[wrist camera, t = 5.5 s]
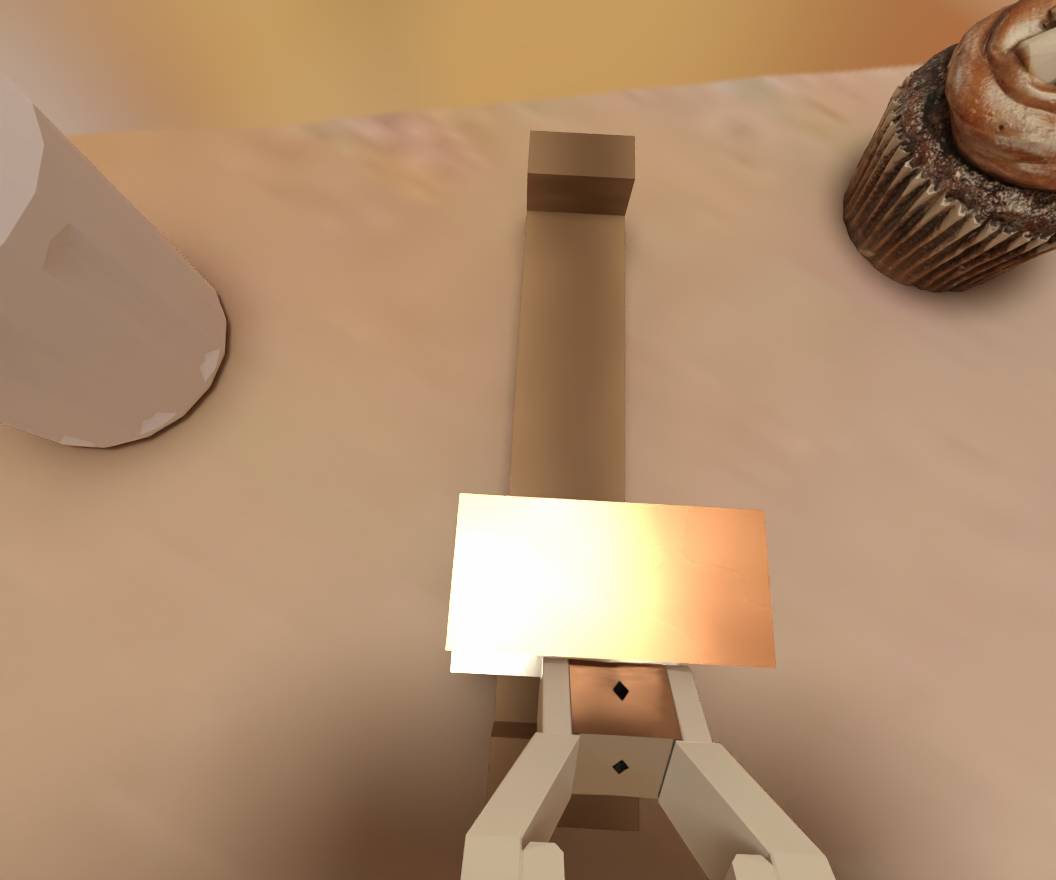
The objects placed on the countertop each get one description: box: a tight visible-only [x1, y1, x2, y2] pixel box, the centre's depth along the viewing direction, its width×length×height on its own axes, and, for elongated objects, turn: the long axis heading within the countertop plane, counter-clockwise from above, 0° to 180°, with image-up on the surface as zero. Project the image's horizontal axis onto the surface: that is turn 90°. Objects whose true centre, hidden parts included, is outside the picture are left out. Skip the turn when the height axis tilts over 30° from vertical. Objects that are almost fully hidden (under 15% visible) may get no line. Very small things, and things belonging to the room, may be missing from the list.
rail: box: [486, 131, 639, 831], centre depth 20 cm, size 4×23×5 cm, turn 177°
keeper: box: [446, 494, 776, 677], centre depth 14 cm, size 7×5×12 cm
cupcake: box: [843, 0, 1056, 292], centre depth 21 cm, size 10×10×10 cm
